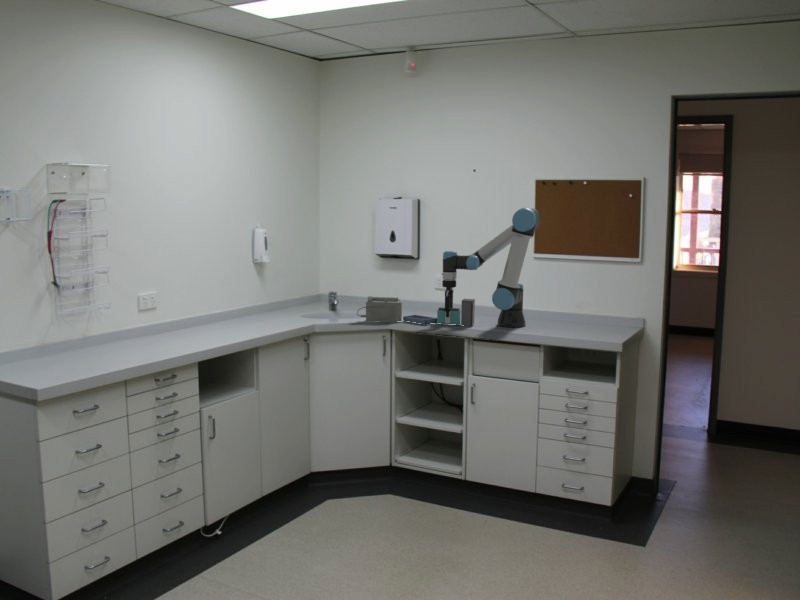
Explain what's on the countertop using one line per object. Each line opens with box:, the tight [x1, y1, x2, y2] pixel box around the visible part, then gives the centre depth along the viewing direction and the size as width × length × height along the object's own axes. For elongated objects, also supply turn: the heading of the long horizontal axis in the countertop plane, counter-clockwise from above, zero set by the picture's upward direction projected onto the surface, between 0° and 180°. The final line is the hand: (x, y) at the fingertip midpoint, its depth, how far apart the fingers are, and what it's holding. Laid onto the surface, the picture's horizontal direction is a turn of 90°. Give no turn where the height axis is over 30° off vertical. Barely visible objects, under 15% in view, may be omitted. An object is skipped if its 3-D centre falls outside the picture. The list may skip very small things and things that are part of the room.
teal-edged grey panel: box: [436, 306, 461, 326], centre depth 407 cm, size 12×4×9 cm, turn 77°
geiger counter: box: [356, 295, 403, 323], centre depth 415 cm, size 14×6×25 cm
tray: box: [402, 314, 437, 326], centre depth 413 cm, size 17×10×3 cm, turn 46°
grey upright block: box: [460, 298, 476, 327], centre depth 405 cm, size 6×8×14 cm
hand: (448, 322), depth 408 cm, fingers closed on teal-edged grey panel, 4 cm apart
